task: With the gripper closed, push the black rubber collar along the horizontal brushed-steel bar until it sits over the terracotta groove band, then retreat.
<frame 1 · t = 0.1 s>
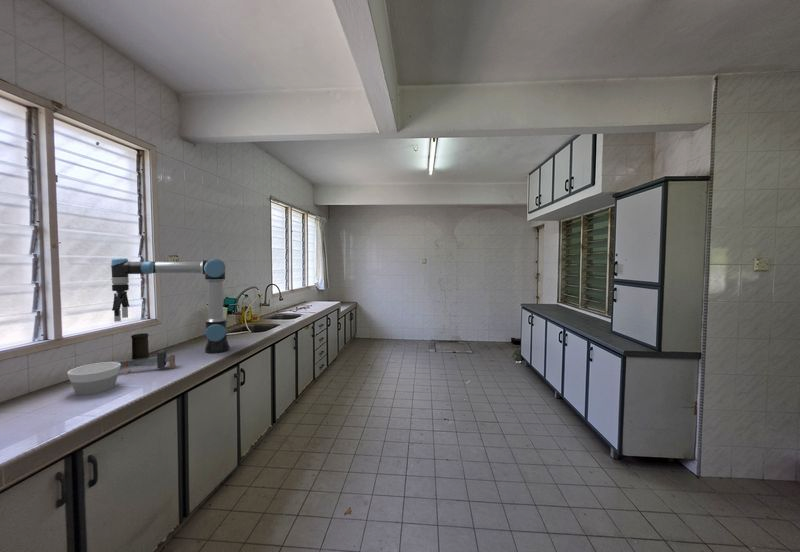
hand: (121, 319, 193), 28 cm above the counter, fingers open, 13 cm apart
bowl: (95, 389, 159), on the counter
collar: (161, 358, 189), point 6 cm above the counter, slide at 0.0 cm
container: (140, 363, 198), on the counter
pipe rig: (142, 370, 185), on the counter
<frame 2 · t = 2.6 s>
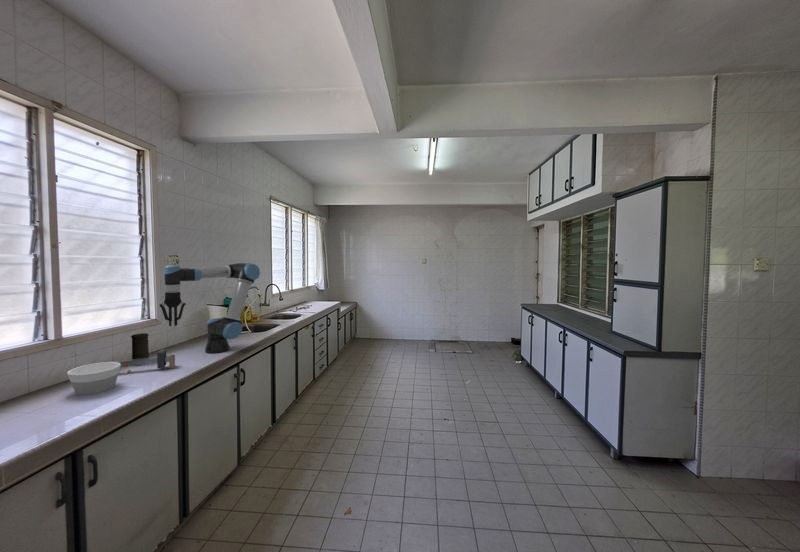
hand: (173, 331, 191), 22 cm above the counter, fingers closed
nothing on the counter moved.
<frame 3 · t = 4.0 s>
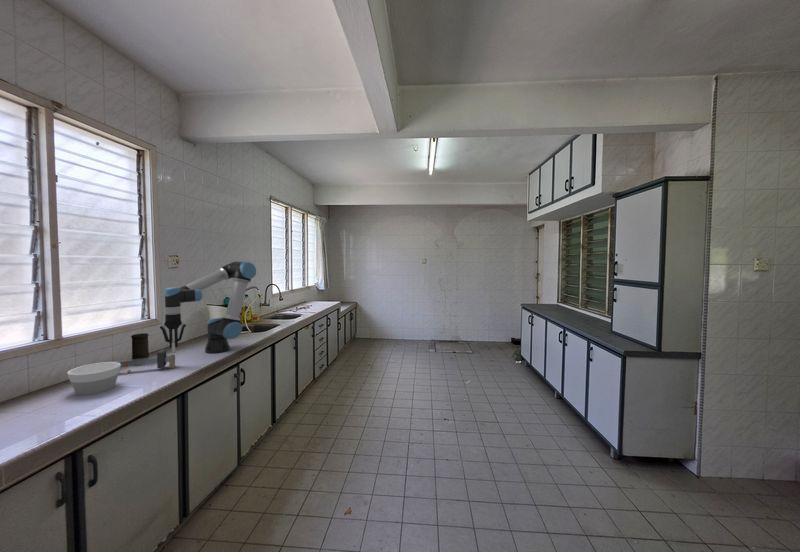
hand: (173, 352, 191), 9 cm above the counter, fingers closed
nothing on the counter moved.
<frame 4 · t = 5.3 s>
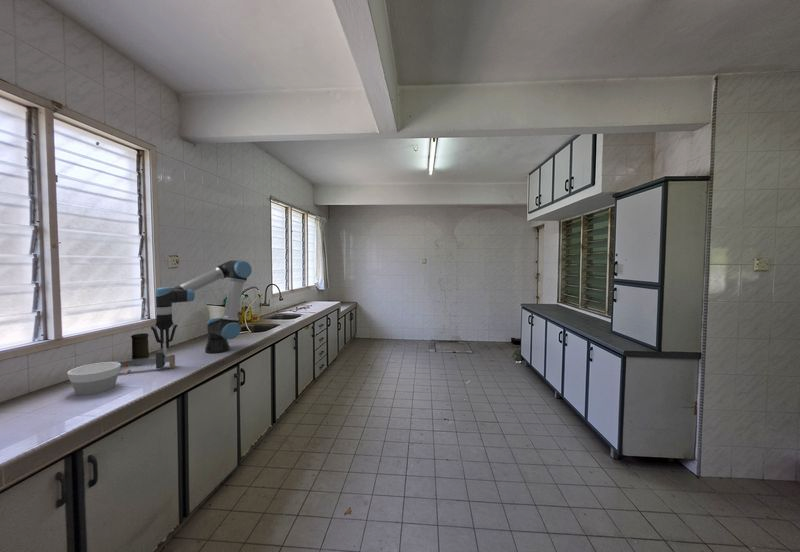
hand: (165, 353, 189), 9 cm above the counter, fingers closed
collar: (160, 358, 189), point 6 cm above the counter, slide at 0.6 cm, touching gripper
everything else where it was.
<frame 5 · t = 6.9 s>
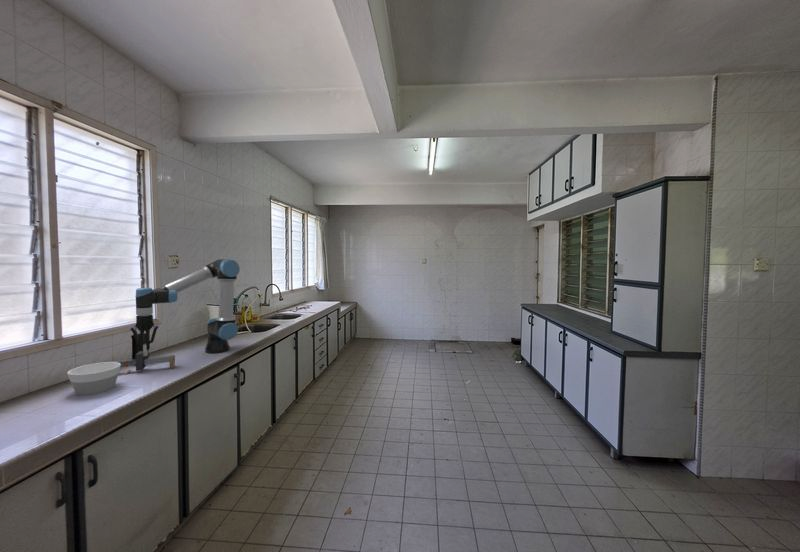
hand: (145, 355, 185), 9 cm above the counter, fingers closed
collar: (140, 360, 184), point 6 cm above the counter, slide at 9.8 cm, touching gripper
everything else where it was.
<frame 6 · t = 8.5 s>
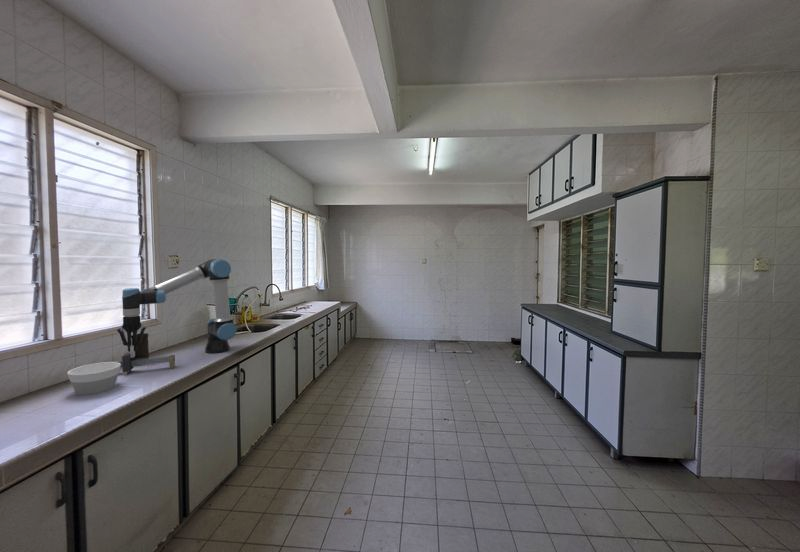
hand: (132, 356, 183), 9 cm above the counter, fingers closed
collar: (127, 362, 182), point 6 cm above the counter, slide at 15.6 cm, touching gripper
everything else where it was.
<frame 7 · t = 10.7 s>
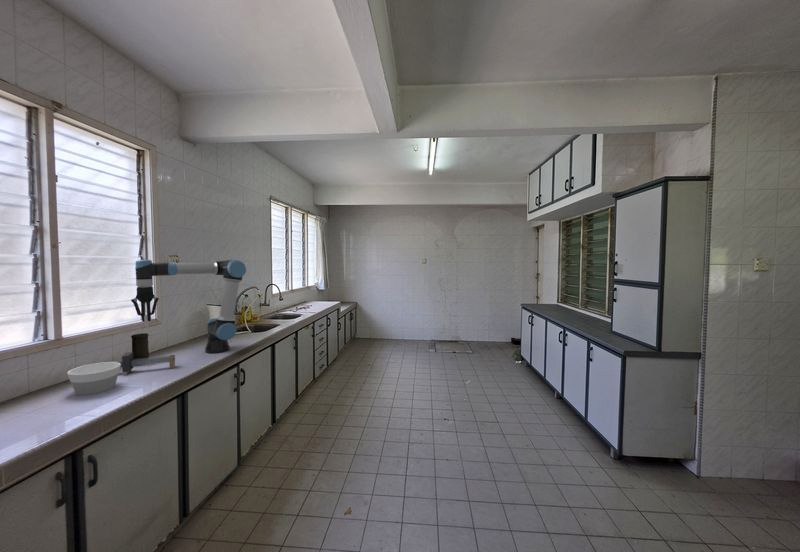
hand: (146, 326, 187), 25 cm above the counter, fingers closed
collar: (127, 362, 182), point 6 cm above the counter, slide at 15.7 cm
everything else where it was.
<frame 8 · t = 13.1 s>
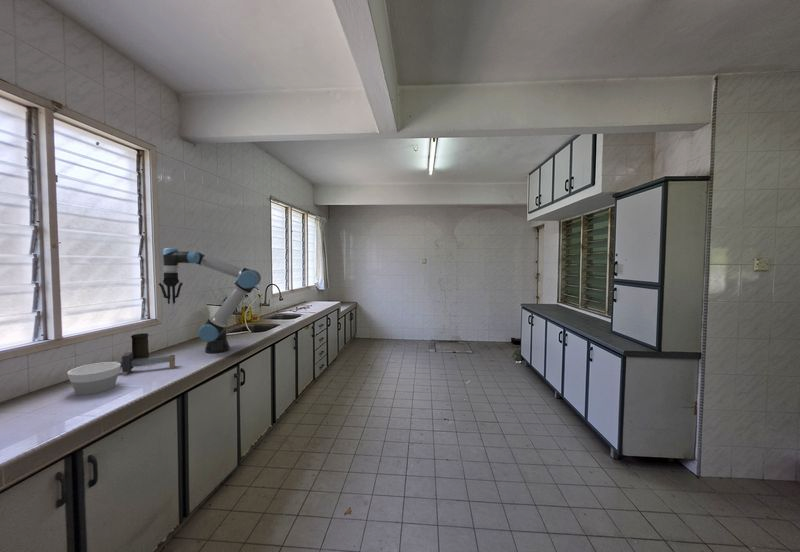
hand: (171, 308, 208), 32 cm above the counter, fingers closed
nothing on the counter moved.
at the end: collar slide at 15.7 cm; collar touching nothing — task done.
